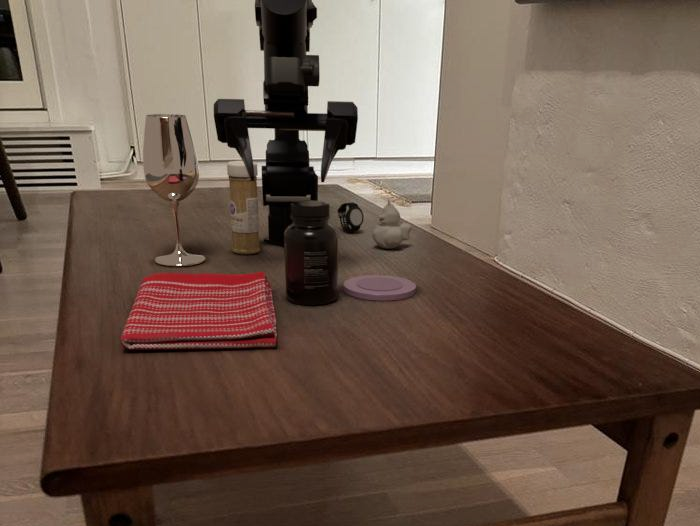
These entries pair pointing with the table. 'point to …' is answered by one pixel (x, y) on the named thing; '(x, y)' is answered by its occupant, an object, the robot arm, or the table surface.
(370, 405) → the table surface
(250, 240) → the sprinkles bottle
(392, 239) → the rubber duck
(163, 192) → the wineglass
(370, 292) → the saucer
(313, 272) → the supplement bottle
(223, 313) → the dish towel
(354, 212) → the smartwatch
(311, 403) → the table surface
